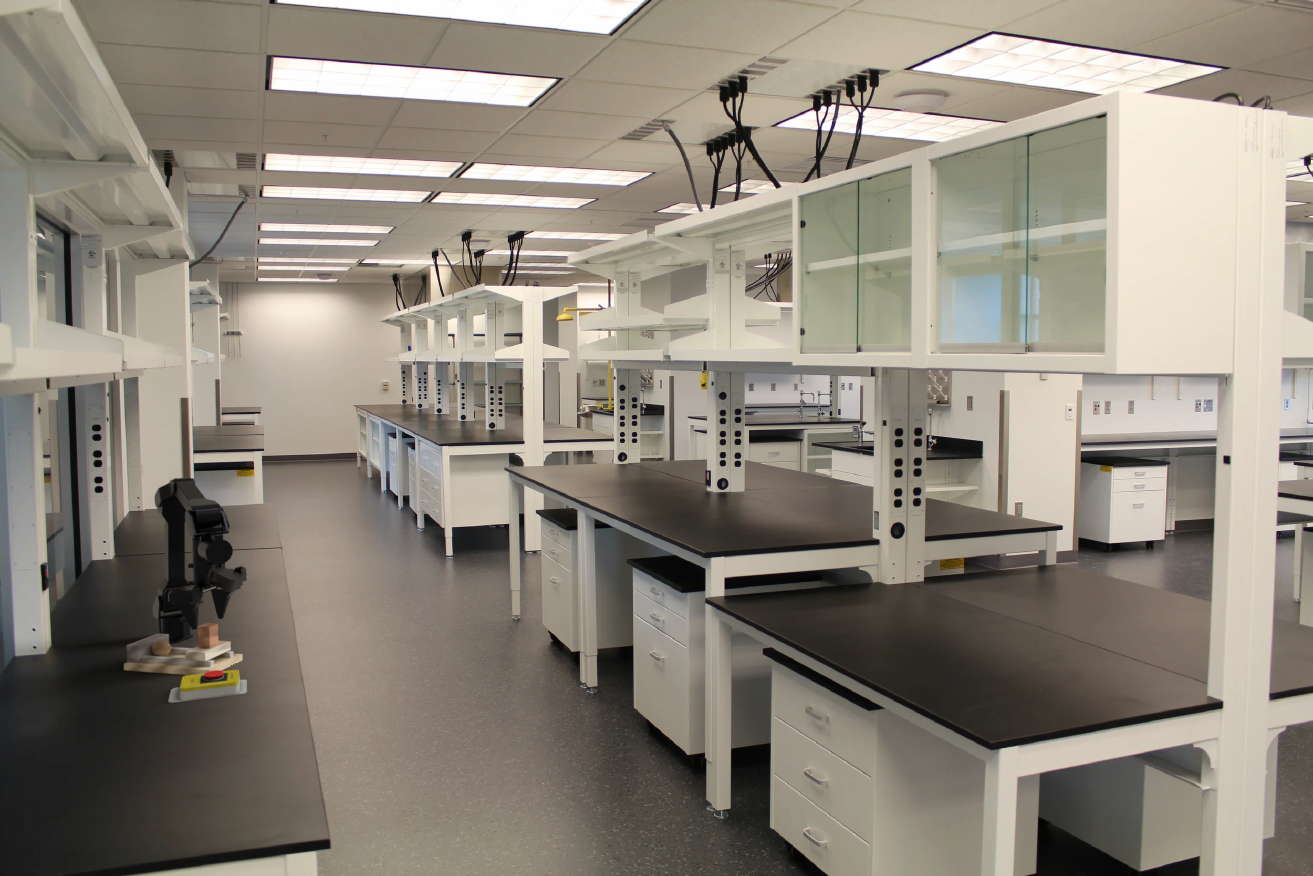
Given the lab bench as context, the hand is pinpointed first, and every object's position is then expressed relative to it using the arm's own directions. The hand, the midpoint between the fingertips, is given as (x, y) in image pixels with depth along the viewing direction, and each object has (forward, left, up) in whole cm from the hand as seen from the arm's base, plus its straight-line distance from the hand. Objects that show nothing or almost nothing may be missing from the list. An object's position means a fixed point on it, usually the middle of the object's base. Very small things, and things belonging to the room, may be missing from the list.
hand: (207, 624), depth 212 cm
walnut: (-12, 0, -9) cm, 15 cm away
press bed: (-6, 0, -10) cm, 12 cm away
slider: (0, 0, -7) cm, 7 cm away
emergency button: (+11, -14, -11) cm, 21 cm away
